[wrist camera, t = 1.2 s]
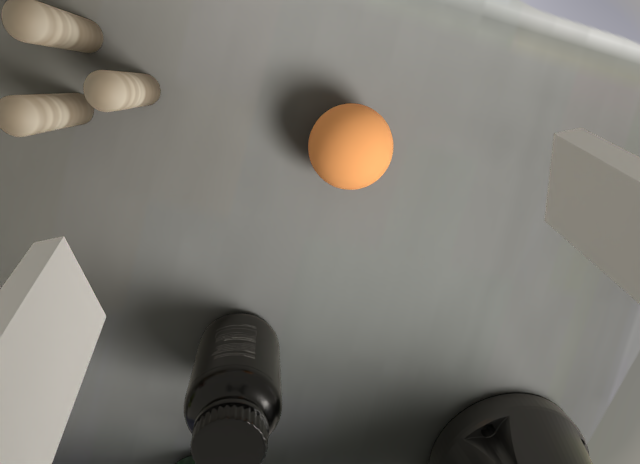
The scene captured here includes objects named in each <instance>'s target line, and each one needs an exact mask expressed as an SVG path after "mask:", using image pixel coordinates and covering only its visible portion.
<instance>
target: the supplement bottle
mask: <svg viewBox="0 0 640 464" xmlns="http://www.w3.org/2000/svg"><path fill="white" fill-rule="evenodd" d="M281 411H282V392H281V369H280V349H279V342H278V338H277V335H276V333H275V332H274V330H273V329H272V327H271V326H270V325H269V324H268V323H267V322H265V321H264V320H262V319H261V318H259V317H257V316H254V315H250V314H245V313H235V314H229V315H226V316H223V317H221V318H219V319H217V320H215V321H214V322H213V323H211V324H210V325H209V326H208V328H207V329H206V330H205V331H204V333H203V335H202V337H201V340H200V343H199V346H198V350H197V354H196V358H195V362H194V365H193V369H192V373H191V377H190V381H189V385H188V389H187V393H186V397H185V402H184V417H185V421H186V424H187V426H188V428H189V430H190V432H191V433H192V440H191V454H192V459H193V460H194V461H195V464H261V463H262V462H263V459H264V458H265V456H266V452H267V445H268V437H269V436H270V435H271V433H272V432H273V431H274V429H275V428H276V426H277V424H278V422H279V419H280V416H281Z"/></svg>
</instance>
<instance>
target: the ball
mask: <svg viewBox="0 0 640 464" xmlns="http://www.w3.org/2000/svg"><path fill="white" fill-rule="evenodd" d="M308 151H309V157H310V161H311V164H312V166H313V168H314V169H315V171H316V172H317V174H318V175H319V176H320V177H321V178H322V179H323V180H324V181H325V182H327V183H329V184H330V185H332V186H334V187H337V188H341V189H349V190H353V189H360V188H363V187H366V186H368V185H370V184H372V183H374V182H375V181H377V180H378V179H379V178H380V177H381V176H382V175H383V174H384V172H385V171H386V169H387V168H388V166H389V164H390V161H391V158H392V154H393V138H392V134H391V131H390V129H389V126H388V125H387V123H386V121H385V120H384V119H383V117H382V116H381V115H380V114H378V113H377V112H376V111H374V110H373V109H371V108H369V107H367V106H364V105H361V104H353V103H350V104H342V105H338V106H336V107H333V108H331V109H329V110H328V111H326V112H325V113H324V114H323V115H322V116H321V117H320V118H319V119H318V120H317V121H316V123H315V124H314V126H313V128H312V130H311V133H310V137H309V143H308Z"/></svg>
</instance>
